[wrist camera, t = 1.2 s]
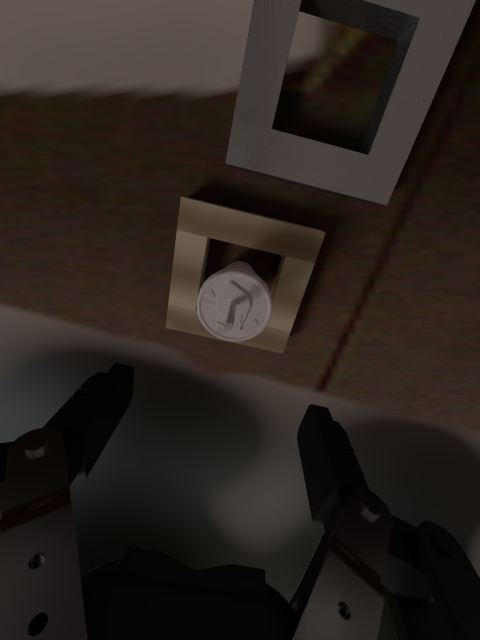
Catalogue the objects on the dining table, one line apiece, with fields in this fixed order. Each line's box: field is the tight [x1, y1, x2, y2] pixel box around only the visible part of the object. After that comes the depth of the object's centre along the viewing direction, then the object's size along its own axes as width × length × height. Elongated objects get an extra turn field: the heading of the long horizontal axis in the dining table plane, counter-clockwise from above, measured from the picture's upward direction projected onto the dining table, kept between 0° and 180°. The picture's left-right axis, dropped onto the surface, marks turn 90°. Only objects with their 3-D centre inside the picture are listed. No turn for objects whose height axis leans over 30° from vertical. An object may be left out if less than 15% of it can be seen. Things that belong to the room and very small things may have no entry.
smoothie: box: [197, 261, 273, 342], centre depth 24 cm, size 6×6×14 cm
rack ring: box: [226, 0, 476, 205], centre depth 21 cm, size 15×15×3 cm
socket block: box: [166, 197, 325, 353], centre depth 29 cm, size 14×14×3 cm
